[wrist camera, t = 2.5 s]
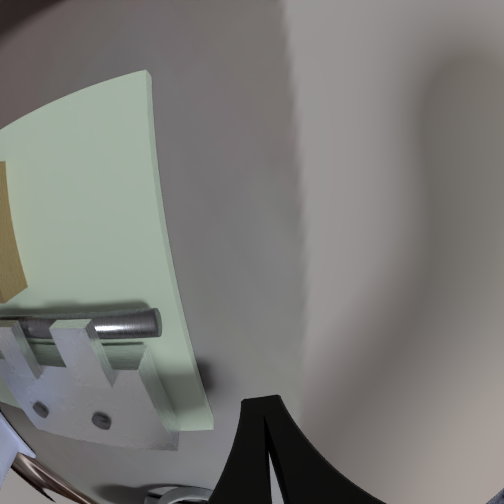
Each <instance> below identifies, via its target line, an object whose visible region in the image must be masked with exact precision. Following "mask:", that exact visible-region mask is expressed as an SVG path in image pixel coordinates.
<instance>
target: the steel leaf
mask: <svg viewBox="0 0 504 504" xmlns="http://www.w3.org/2000/svg"><path fill="white" fill-rule="evenodd" d="M49 330H50V333H51V335H52V337H53V339H54V342H55V344H56V345H43V344H28V342H27V340H26V337H25V335H24V333H23V331H22V328H21V326H20V324H19V321H18V320H0V375H1V377H2V378H3V380H4V382H5V383H6V385H7V387H8V388H9V390H10V391H11V393H12V394H13V396H14V398H15V399H16V401H17V402H18V403H19V405H20V406H21V408H22V409H23V411H24V412H25V413H26V415H27V416H28V417H29V419H30V420H31V421H32V423H33V424H34V425H35V427H36V428H37V429H39V430H43V431H46V432H50V433H53V434H57V435H61V436H65V437H69V438H73V439H78V440H83V441H88V442H93V443H99V444H105V445H112V446H119V447H128V448H138V449H151V450H175V451H178V444H179V435H180V427H181V426H180V424H179V422H178V420H177V417H176V415H175V413H174V411H173V409H172V406H171V404H170V402H169V400H168V397H167V395H166V392H165V390H164V388H163V385H162V383H161V380H160V378H159V375H158V373H157V370H156V367H155V365H154V362H153V359H152V356H151V354H150V351H149V348H148V345H127V346H102V344H101V341H100V339H99V336H98V334H97V331H96V329H95V326H94V323H93V321H92V319H78V320H56V321H55V323H54V324H53V325H52V326H51V327H50V328H49Z"/></svg>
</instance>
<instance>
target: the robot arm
mask: <svg viewBox="0 0 504 504" xmlns="http://www.w3.org/2000/svg"><path fill="white" fill-rule="evenodd" d="M18 451H19V452H21V453H23V454H25V455H28V456H30V457H32V458H35V457H36V455H35V453H34V452H33V451H32V450H31V449H30V448H29V447H28V446H27V445H26V443H25V442H24V441H23V440H22V439H21V438H20V437H19V435H18V434H17V433H16V432H15V431H14V429H13V428H12V427H11V426H10V424H9V423H8V422H7V420H6V419H5V418H4V416H3V415H2V414H1V412H0V489H1V486H2V484H3V482H4V480H5V477H6V475H7V473H8V471H9V468H10V466H11V464H12V462H13V460H14V458H15V456H16V454H17V452H18ZM269 454H270V457H271V461H272V464H273V467H274V471H275V474H276V477H277V481H278V484H279V487H280V491H281V494H282V497H283V501H284V504H386V503H384V502H382V501H381V500H379V499H377V498H375V497H373V496H372V495H370V494H369V493H367V492H366V491H364V490H363V489H361V488H360V487H358V486H357V485H355V484H354V483H352V482H351V481H350V480H349V479H347V478H346V477H345V476H344V475H342V474H341V473H340V472H339V471H337V470H336V469H335V468H334V467H333V466H332V465H331V464H330V463H329V462H328V461H327V460H326V459H325V458H324V457H323V456H322V455H321V454H320V453H319V452H318V451H317V450H316V449H315V447H313V445H312V444H311V443H310V442H309V440H308V439H307V438H306V437H305V435H304V434H303V433H302V431H301V430H300V429H299V427H298V426H297V425H296V423H295V422H294V420H293V419H292V417H291V415H290V414H289V412H288V411H287V409H286V407H285V405H284V403H283V401H282V399H281V396H279V395H271V396H265V397H257V398H250V399H244V400H242V401H241V412H240V419H239V424H238V428H237V432H236V436H235V439H234V443H233V446H232V449H231V452H230V455H229V457H228V460H227V463H226V465H225V468H224V470H223V472H222V475H221V477H220V479H219V481H218V483H217V485H216V487H215V489H214V491H213V492H212V494H211V496H210V498H209V499H208V501H207V503H206V504H272V498H271V482H270V465H269ZM486 504H504V488H503V489H502V490H501V491H500V492H499V493H498V494H497V495H495V496H494V497H493V498H492V499H491V500H490V501H488V502H487V503H486Z"/></svg>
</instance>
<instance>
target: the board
mask: <svg viewBox="0 0 504 504" xmlns="http://www.w3.org/2000/svg"><path fill="white" fill-rule="evenodd" d="M0 161H6V176H7V188H8V197H9V204H10V211H11V218H12V224H13V229H14V234H15V239H16V244H17V248H18V252H19V256H20V260H21V264H22V268H23V271H24V275H25V278H26V282H27V285H28V287H27V288H26V289H24V290H23V291H21V292H20V293H18V294H17V295H16V296H14V297H13V298H12V299H10V300H9V301H8V302H6V303H0V315H42V314H70V313H90V312H106V311H121V310H134V309H146V308H158V310H159V312H160V315H161V319H162V335H161V337H155V338H136V339H106V340H100V341H101V344H102V346H127V345H148V348H149V351H150V354H151V356H152V359H153V362H154V365H155V367H156V370H157V373H158V375H159V378H160V380H161V383H162V385H163V388H164V390H165V392H166V395H167V397H168V400H169V402H170V404H171V406H172V409H173V411H174V413H175V415H176V417H177V420H178V422H179V424H180V426H181V427H180V431H190V430H213V416H212V413H211V410H210V407H209V403H208V400H207V397H206V394H205V391H204V387H203V384H202V381H201V377H200V374H199V370H198V367H197V363H196V360H195V356H194V352H193V349H192V345H191V341H190V337H189V333H188V329H187V325H186V321H185V317H184V313H183V309H182V304H181V300H180V295H179V291H178V286H177V281H176V276H175V271H174V266H173V261H172V256H171V251H170V245H169V239H168V234H167V228H166V221H165V215H164V208H163V201H162V194H161V187H160V179H159V171H158V162H157V152H156V142H155V130H154V117H153V101H152V78H151V76H150V74H149V73H148V72H147V70H142V71H138V72H135V73H131V74H127V75H124V76H120V77H117V78H114V79H111V80H107V81H104V82H101V83H98V84H96V85H93V86H90V87H87V88H85V89H82V90H79V91H77V92H74V93H72V94H69V95H67V96H65V97H62V98H60V99H58V100H56V101H53V102H51V103H49V104H47V105H45V106H43V107H41V108H39V109H37V110H35V111H33V112H31V113H29V114H27V115H25V116H23V117H22V118H20V119H18V120H16V121H14V122H13V123H11V124H9V125H8V126H6V127H4V128H3V129H1V130H0ZM26 340H27V342H28V344H43V345H56V344H55V342H54V339H34V338H26ZM0 402H3V403H6V404H9V405H12V406H15V407H18V408H21V406H20V405H19V403H18V402H17V401H16V399H15V398H14V396H13V394H12V393H11V391H10V390H9V388H8V387H7V385H6V383H5V382H4V380H3V378H2V377H1V375H0ZM21 409H22V408H21Z"/></svg>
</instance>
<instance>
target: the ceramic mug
mask: <svg viewBox="0 0 504 504" xmlns="http://www.w3.org/2000/svg"><path fill="white" fill-rule="evenodd" d="M212 492H213V491H212V490H208V489H205V488H199V487H179V488H175V489H172V490H170V491H168V492H166V493H165V494H164V495H163V496H162V497H161V498H160V499H157V498H153V497H149V496H148V497H146V498H145V502H144V504H181V503H176V502H177V501H182V500H185V499H202V500H207V501H208V499H209V498H210V496H211V494H212Z"/></svg>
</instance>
